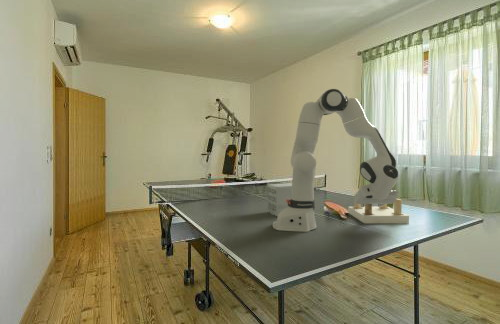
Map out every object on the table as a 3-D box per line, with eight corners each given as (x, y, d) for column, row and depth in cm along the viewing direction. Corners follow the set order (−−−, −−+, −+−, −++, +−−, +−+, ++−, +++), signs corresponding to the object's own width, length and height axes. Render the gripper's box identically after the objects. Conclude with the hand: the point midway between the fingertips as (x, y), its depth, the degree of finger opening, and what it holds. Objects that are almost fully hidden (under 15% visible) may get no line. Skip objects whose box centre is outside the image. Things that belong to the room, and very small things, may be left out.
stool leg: (366, 220, 150) (366, 200, 150) (363, 218, 154) (363, 198, 153) (372, 220, 150) (373, 200, 150) (370, 218, 154) (370, 198, 153)
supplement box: (291, 209, 182) (291, 182, 181) (301, 214, 169) (302, 185, 168) (267, 212, 176) (267, 183, 175) (276, 216, 163) (276, 186, 162)
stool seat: (363, 223, 148) (364, 200, 147) (348, 212, 172) (348, 193, 171) (408, 223, 148) (409, 200, 147) (387, 212, 172) (387, 193, 171)
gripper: (397, 185, 141) (387, 201, 151) (357, 186, 141) (350, 201, 151) (402, 196, 136) (391, 211, 147) (360, 196, 136) (353, 211, 147)
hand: (370, 206), depth 149 cm, fingers open, 8 cm apart
